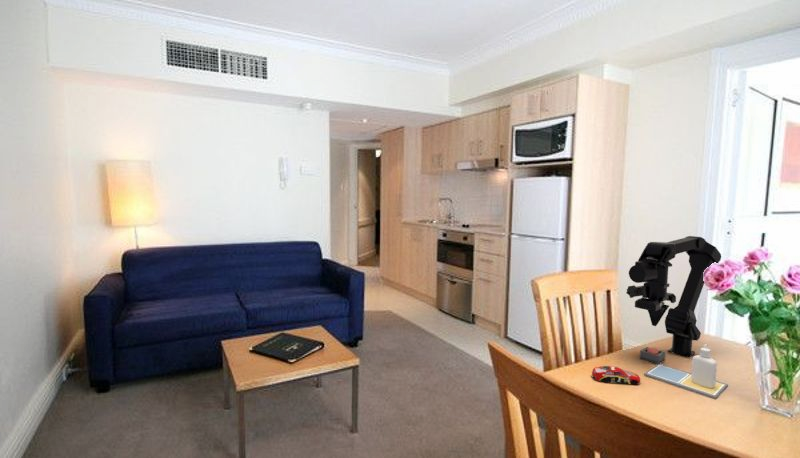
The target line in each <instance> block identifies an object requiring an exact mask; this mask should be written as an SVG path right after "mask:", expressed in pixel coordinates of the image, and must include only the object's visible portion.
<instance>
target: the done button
mask: <svg viewBox="0 0 800 458" xmlns="http://www.w3.org/2000/svg"><path fill="white" fill-rule="evenodd" d="M658 350H659V349H657V348H654V347H649V348H647V352H649V353H653V354H656V355H657V354H658Z"/></svg>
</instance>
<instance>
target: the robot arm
mask: <svg viewBox="0 0 800 458" xmlns="http://www.w3.org/2000/svg"><path fill="white" fill-rule="evenodd" d="M682 253H686V254H687V255H688V262H689V263H688V264H689V267H690V271H689V274H688V277H687V280H686V282H685V285H684V288H683V290H682V293H681V296H680V298H679V300H678V303H677V305H676V306H675V307H674V308H671V307H670V305H669V304H668V305H667V304H665V301H669V302H670V303H671V304H675V303H676V302H677V297H676V294H674V293H671V292H668V288H669V287H670V283H668V279H669V268H671V267H673V264H672V263H671V262H670V261H672V260H673V259H675V258H676V255H678V254H682ZM721 260H722V254H721V253H720V251H719V250H718V248H717V247H716V246H714V245H712V244H711V243H709V242H708V241H707V240H706V239H705V238H704V237H701V236H694V235H688V236H685V237H682V238H678V239H675V240H671V241H667V242H665V241H663V242H662V241H650V242H648V243H647V244H646V246H645V248H644V249H643V251H642V252H641V254H640V256H639V258H638V260H637V261H635V263H634V265H632V266H631V267H630V268H629V270H628V277H629V278H630V279H629V280H631V281H633V283H637V284H638V283H639V284H641V283H643V285H638V286H636V285H635V284H633V285H629V286H627V289H626V295H628V296H629V298H630V299H632V298H635V297H640V298H638V299H637V300H635V301H634V308H636V309H642V310H647V312H648V316H649V319H650V322H651V325H652V326H654V327H657V325H658V324H659V322H660V321H661V319H662V318H663V316H664V314H665V313H666V311H668V312H667V314H666V316H665V319H664V326H665V330H666V331H665V332H666V333H667V334H671V335H672V342H671V343H672V344H671V347H670V348H669V349H668V350H667V352H668V353H670V354H675V355H679V356H683V357H685V358H691V357H692V356H693V355H695V354H696V351H694V350H692V349H693V341H699V340H700V338H701V334H702V333H701V331H700V330H699V327H697V322H698V320H697V317H696V314H695V310H696V307H697V304H698V301H699V298H700V296H701V294H702V290H703V288H704V286H705V285H704V284H705V283H704V281H703V272H704V270H705V269H706V268H707V267H709V266H710V265H711V264H712V263H714V262H716V263H718V264H719V263H720V261H721Z"/></svg>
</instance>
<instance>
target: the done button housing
mask: <svg viewBox="0 0 800 458" xmlns="http://www.w3.org/2000/svg"><path fill="white" fill-rule="evenodd" d="M647 348H650V347H649V346H646V347H644V348H643V349H641V350H640V351H639V360H641V361H644V362H647V361H648V362H647V363H650V362H651V364H654V365H657V364H663V362H665V360H666V351H663V350H660V349H658V354H657V355H656V354H653V353H649V352H647Z"/></svg>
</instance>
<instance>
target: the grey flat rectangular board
mask: <svg viewBox="0 0 800 458" xmlns="http://www.w3.org/2000/svg"><path fill="white" fill-rule="evenodd" d="M691 374H692V372H690V371H688V372H687V371H684V370H682V369H678V368H675V367H673V366H672V367H671V366H668V365H665V364H663V363H660V364H655V366H652V368H650V369H649V370H647V371H646V372H645V373H643V376H644V377H648V378H650V379H652V380H656V381H659V382H662V383H664V384H668V385H671V386H674V387H678V388H680V389H684V390H686V391H689V392H693V393H695V394H698V395H702V396H704V397H707V398H711V399H714V400H716V399H718V398H719V397H720V396H721V394H723V392H724V391H725V390H726V389H727V388H728V387H729V384H727V383H724V382H721V381H718V380H716V384H715V387H714V388H707V387H703V386H700V385H698V384H696V383H694V382H692V381H691Z"/></svg>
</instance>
